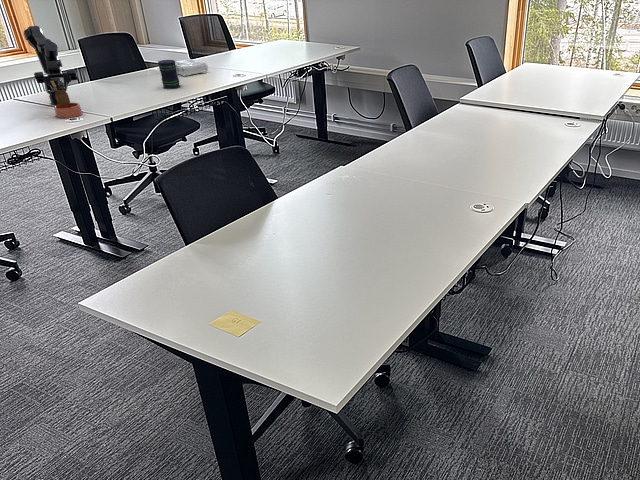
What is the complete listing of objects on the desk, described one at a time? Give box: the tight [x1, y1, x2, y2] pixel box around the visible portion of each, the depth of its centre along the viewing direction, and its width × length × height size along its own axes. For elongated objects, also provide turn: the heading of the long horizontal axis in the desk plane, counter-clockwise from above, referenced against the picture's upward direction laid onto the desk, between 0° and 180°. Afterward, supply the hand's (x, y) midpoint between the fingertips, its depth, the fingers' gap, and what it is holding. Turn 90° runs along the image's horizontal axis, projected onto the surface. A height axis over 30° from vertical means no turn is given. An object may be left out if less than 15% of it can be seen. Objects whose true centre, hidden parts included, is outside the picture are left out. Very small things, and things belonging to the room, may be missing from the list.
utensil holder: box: [51, 79, 71, 105], centre depth 288 cm, size 6×6×12 cm
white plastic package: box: [174, 58, 209, 77], centre depth 383 cm, size 19×28×8 cm
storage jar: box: [157, 59, 181, 90], centre depth 344 cm, size 10×10×15 cm
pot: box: [53, 102, 83, 119], centre depth 294 cm, size 12×12×5 cm
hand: (60, 90), depth 287 cm, fingers closed on utensil holder, 5 cm apart
